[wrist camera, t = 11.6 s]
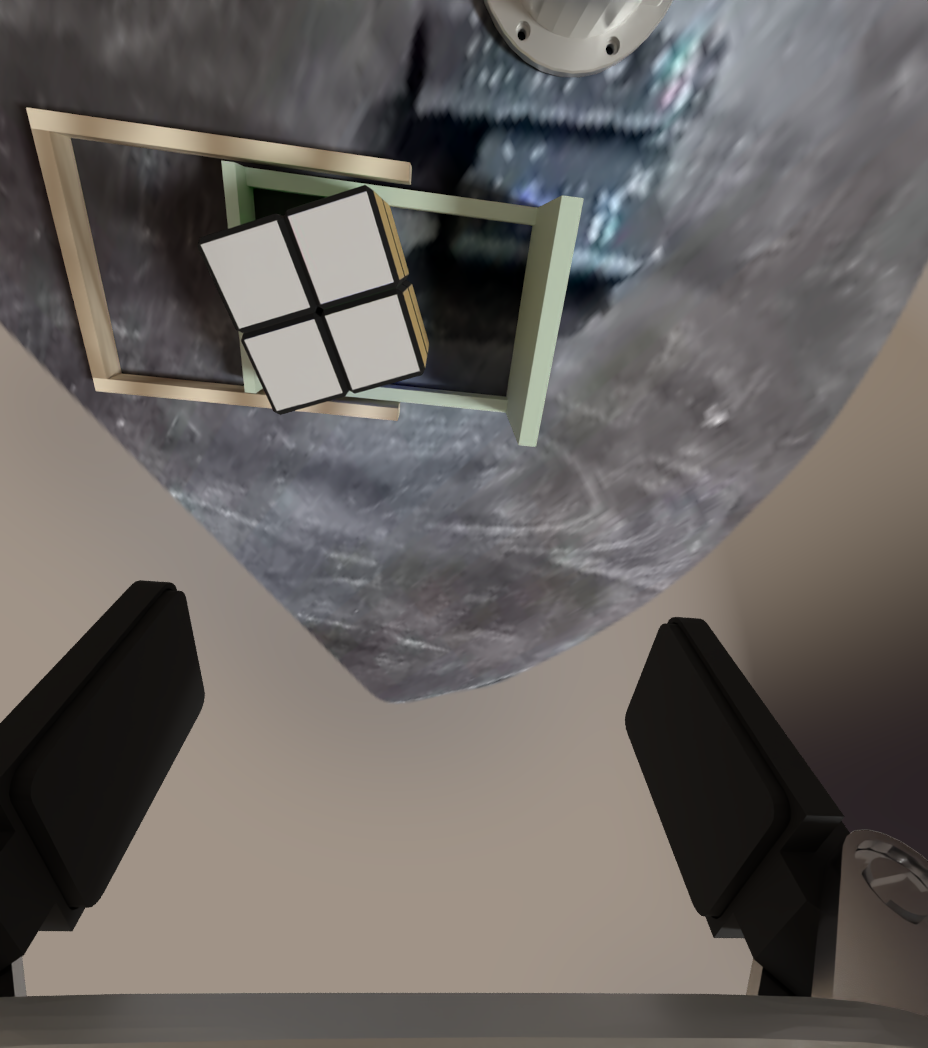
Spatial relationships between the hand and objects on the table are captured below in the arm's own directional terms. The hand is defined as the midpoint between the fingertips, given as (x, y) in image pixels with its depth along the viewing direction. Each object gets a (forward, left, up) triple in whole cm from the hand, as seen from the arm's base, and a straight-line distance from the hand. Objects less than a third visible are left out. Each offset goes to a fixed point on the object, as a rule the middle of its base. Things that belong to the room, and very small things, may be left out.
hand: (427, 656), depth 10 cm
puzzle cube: (+7, -4, -33) cm, 34 cm away
